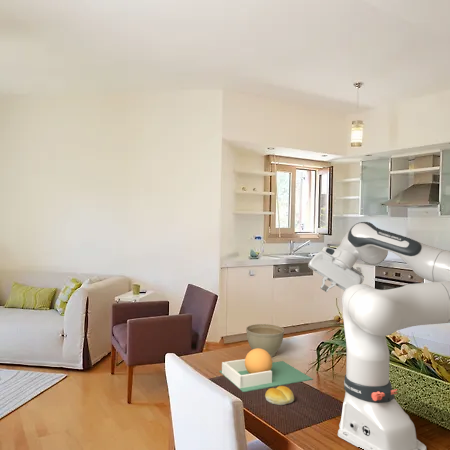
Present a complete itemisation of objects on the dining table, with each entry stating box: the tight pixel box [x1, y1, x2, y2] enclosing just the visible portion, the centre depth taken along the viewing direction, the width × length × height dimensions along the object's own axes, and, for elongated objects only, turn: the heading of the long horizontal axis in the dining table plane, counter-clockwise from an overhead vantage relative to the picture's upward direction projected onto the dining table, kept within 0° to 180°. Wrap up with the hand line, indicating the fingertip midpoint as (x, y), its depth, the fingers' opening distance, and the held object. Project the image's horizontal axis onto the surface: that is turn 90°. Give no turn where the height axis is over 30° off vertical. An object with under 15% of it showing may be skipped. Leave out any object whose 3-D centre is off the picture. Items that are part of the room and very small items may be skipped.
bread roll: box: [264, 385, 295, 406], centre depth 130 cm, size 8×9×4 cm
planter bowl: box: [246, 323, 285, 358], centre depth 174 cm, size 16×16×11 cm
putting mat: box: [218, 360, 314, 393], centre depth 150 cm, size 20×28×1 cm
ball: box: [244, 348, 273, 374], centre depth 148 cm, size 10×10×10 cm
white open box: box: [221, 358, 272, 389], centre depth 146 cm, size 15×12×4 cm
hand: (323, 290), depth 154 cm, fingers closed
